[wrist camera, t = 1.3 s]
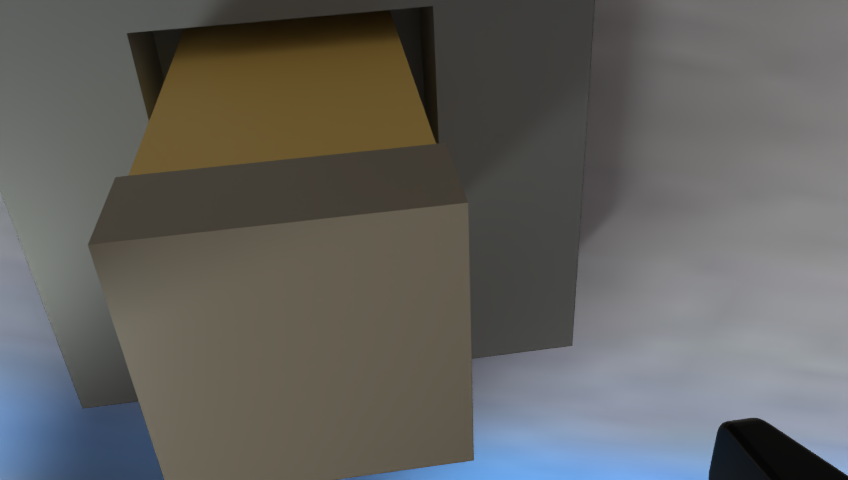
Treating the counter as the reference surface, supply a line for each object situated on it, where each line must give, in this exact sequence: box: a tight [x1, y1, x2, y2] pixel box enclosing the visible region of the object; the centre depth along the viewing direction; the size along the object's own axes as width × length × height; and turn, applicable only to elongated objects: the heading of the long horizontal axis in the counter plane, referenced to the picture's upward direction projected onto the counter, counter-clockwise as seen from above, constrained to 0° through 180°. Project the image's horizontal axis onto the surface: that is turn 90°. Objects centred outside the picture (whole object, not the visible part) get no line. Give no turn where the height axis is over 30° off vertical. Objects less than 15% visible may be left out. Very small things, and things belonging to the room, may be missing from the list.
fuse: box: [88, 11, 474, 480], centre depth 13 cm, size 4×4×8 cm
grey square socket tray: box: [0, 0, 595, 408], centre depth 16 cm, size 11×11×2 cm
